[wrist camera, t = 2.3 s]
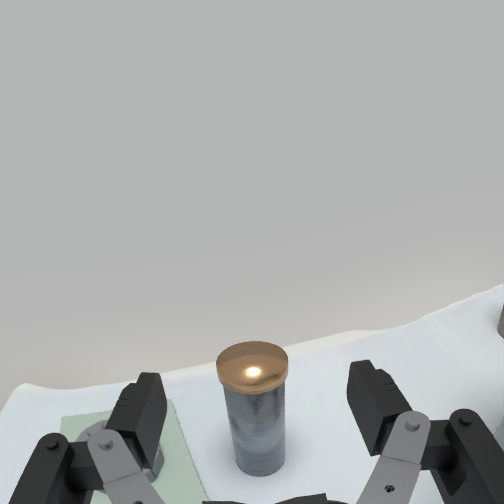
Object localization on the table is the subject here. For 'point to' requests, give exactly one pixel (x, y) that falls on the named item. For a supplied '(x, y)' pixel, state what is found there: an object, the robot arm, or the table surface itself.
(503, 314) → the thermos bottle
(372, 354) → the table surface
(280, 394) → the copper lidded jar
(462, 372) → the table surface
